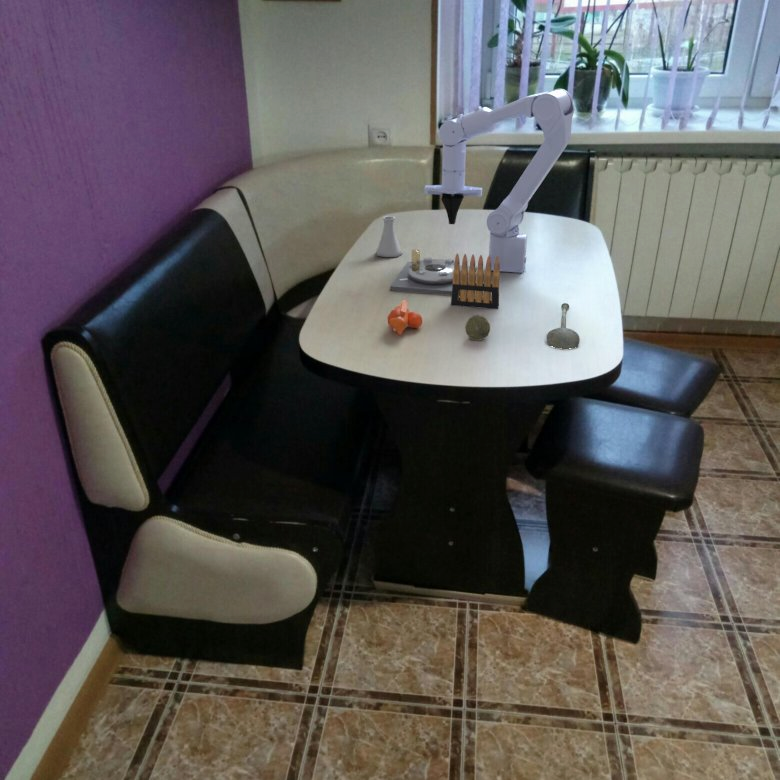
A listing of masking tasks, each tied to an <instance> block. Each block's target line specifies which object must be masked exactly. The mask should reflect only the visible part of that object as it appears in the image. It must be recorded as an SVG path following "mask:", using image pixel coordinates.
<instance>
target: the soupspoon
mask: <svg viewBox="0 0 780 780" xmlns="http://www.w3.org/2000/svg"><path fill="white" fill-rule="evenodd" d="M560 308H561V309H562V313H561V314H562V315H561V326H560V327H556V328H553V329H551V330H550V331H548V332H547V334H546V343H547V345H548V346H549V347H550V346H553V347H555V348H554V349H556V348H562V349H561V350H564V349H568V350H570V349H569V348H575V347H577V348H578V346H579V344H580V340H581V339H580V335H579V334H578V333H577V332H576V331H575V330H574V329H571V328H568V327H567V315H566V314H567V310H568V308H569V309H570V304H569V303H568V302H563V303H562V304H561V305H560Z"/></svg>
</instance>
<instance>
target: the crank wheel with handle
mask: <svg viewBox="0 0 780 780" xmlns="http://www.w3.org/2000/svg"><path fill="white" fill-rule="evenodd" d="M411 262H412V263H411V264H410V266H409V277H410V279H412V280H414V281H416V282H419V283H423V284H433V285H438V284H448V283H452V282H453V270H454V262H455V259H451V258H447V259H440V258H437V259H436V258H432V257H423V259H422V260H421V250H420V249H416V248H415V249H412V250H411ZM461 270H462V267H461V266H460V278H461Z"/></svg>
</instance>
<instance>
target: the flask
mask: <svg viewBox="0 0 780 780" xmlns="http://www.w3.org/2000/svg"><path fill="white" fill-rule="evenodd" d="M395 218H396V217H395V216H391V215H385V216H382V220H383V230H382V233H381V236H380V240H379V243H378V246H377V248H376V251H375V253H376V256H377V257H383V258H395V257H396V258H398V257H399V256H401V255H402V254H403V251H402V248H401V246H400V245H401V244H400V243H399V240H398V237H397V234H396V230H395V226H394V225H395V224H394V222H395V221H396V219H395Z"/></svg>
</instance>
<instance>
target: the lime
mask: <svg viewBox="0 0 780 780" xmlns="http://www.w3.org/2000/svg"><path fill="white" fill-rule="evenodd" d="M464 329H465V333H466V335H467V337H468V338H469V339H471V340H472V341H481V340H482V341H483V340H484V339H486V338H487V337H488V336H489V334H490V332H491V324H490V322H489V320H488V319H487V318H486V317H485V316H483V315H480V314H476V315H475V314H474V315H472V316H471V317H469V318H468V319H467V322H466V323H465V326H464Z"/></svg>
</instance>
